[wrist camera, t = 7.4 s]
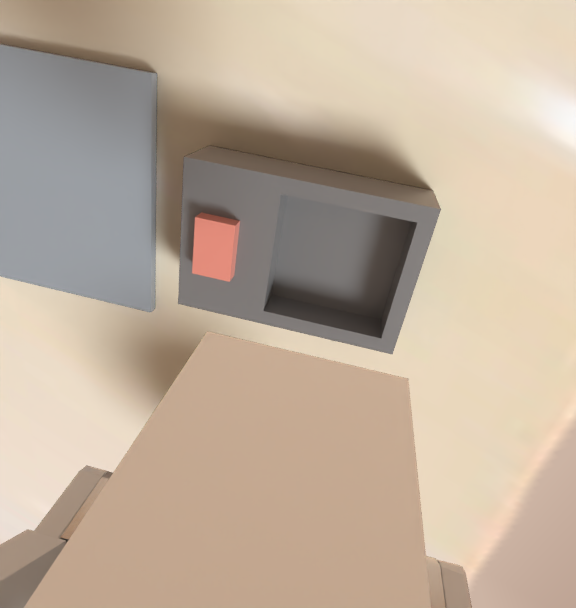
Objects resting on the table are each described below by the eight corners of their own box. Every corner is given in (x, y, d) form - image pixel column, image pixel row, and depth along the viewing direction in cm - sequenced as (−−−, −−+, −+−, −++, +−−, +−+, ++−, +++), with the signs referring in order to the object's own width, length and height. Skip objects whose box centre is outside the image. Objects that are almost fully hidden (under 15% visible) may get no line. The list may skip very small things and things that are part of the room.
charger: (359, 512, 13) (343, 892, 7) (196, 468, 14) (46, 793, 8) (408, 378, 11) (448, 783, 5) (207, 331, 11) (-2, 644, 5)
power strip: (391, 321, 27) (392, 363, 23) (200, 278, 28) (172, 310, 24) (433, 190, 23) (442, 214, 19) (209, 145, 24) (176, 159, 20)
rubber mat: (155, 308, 29) (151, 312, 29) (-10, 268, 30) (-17, 272, 30) (156, 73, 22) (151, 73, 22) (-56, 33, 24) (-66, 32, 23)
